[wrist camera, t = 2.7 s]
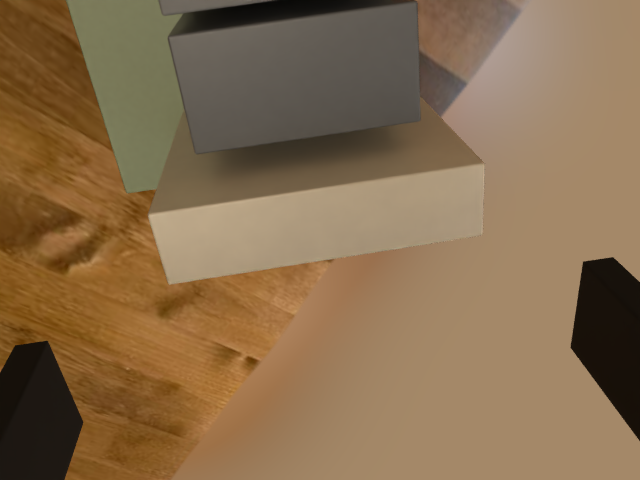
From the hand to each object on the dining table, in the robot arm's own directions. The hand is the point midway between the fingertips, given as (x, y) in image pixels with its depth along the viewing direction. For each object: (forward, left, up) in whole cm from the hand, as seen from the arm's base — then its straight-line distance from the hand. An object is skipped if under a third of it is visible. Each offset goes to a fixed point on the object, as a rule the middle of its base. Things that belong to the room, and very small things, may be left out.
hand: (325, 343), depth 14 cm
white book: (0, -1, -16) cm, 16 cm away
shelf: (+2, -5, -24) cm, 25 cm away
